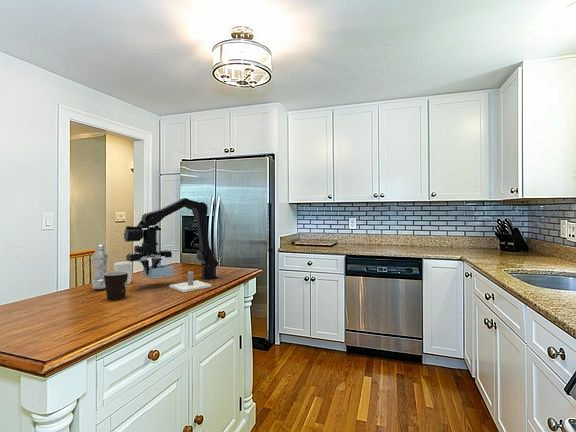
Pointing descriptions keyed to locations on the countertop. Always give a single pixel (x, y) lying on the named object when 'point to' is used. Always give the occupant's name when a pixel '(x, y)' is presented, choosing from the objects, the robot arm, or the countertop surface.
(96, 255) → the plastic bottle
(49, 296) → the countertop surface
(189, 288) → the white base with peg
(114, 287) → the coffee mug
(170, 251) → the robot arm
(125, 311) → the countertop surface
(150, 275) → the loop frame
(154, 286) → the countertop surface
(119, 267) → the white cup
